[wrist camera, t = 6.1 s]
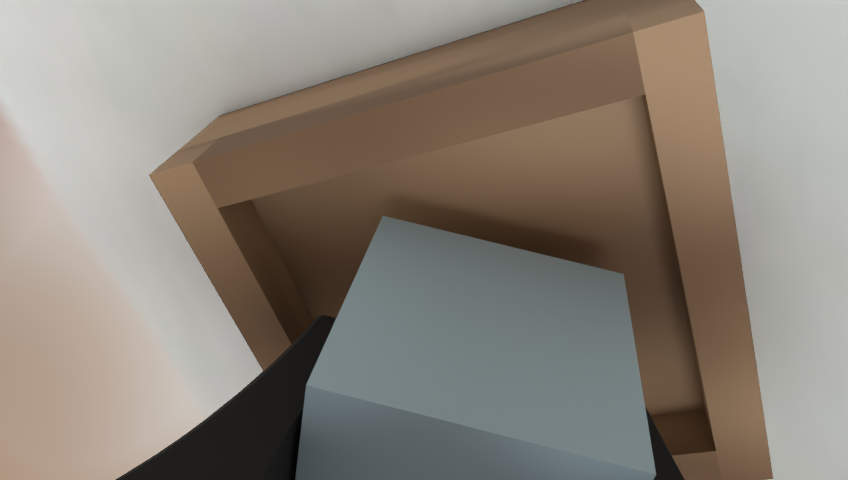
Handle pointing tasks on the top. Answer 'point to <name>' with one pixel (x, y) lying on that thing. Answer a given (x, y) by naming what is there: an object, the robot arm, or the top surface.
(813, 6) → the top surface
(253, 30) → the top surface
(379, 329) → the block
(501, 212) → the walnut base
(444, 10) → the top surface
